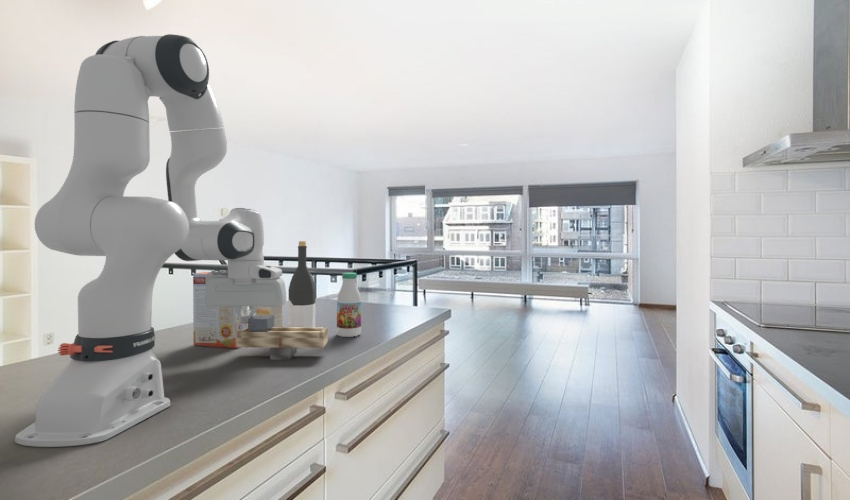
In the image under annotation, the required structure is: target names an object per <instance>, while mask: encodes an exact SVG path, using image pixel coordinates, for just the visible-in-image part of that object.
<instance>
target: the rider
mask: <svg viewBox="0 0 850 500" xmlns="http://www.w3.org/2000/svg"><path fill="white" fill-rule="evenodd" d="M272 327H274V315H255V314H254V315H253V317H251V318H249V319H248V331H271V328H272Z"/></svg>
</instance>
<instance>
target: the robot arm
mask: <svg viewBox="0 0 850 500" xmlns="http://www.w3.org/2000/svg"><path fill="white" fill-rule="evenodd" d="M209 67H210V66H209V63H208V58H207V57H206V54H205V53H204V51H203V50H202V48H201V47H200V46H199V45H198V44H197V43H196V41H195V40H193V39H192V38H190V37H189V36H184V35H180V34H172V33H171V34H170V33H168V34H165V35H149V36H148V35H147V36H145V35H139V36H133V37H128V38H125V39H122V40H112V41H110V42H107V43H105V44H103V45H102V46H100V47H99V48H98V49H97V51H96V52H95V54H94V55H90V56H88V57H86V58H85V59H84V60H83V61H82V62H81V63H80V67H79V69H78V70H79V71H78V75H77V79H76V85H75V86H76V87H75V93H74V112H73V114H74V115H73V116H74V131H73V133H74V140H73V156H72V162H71V166H70V169H69V171H68V174H67V177H66V178H65V180H64V182H63V184H62V186H60V189H59V190H58V191H57V193H56V194H55V195H54V196H53V197H52V198H50V199H49V200H47V202H45V203H44V204H43V205H41V207H40V208H39V209H38V211H37V213H36V216H35V218H34V231H35V234H36V236H37V238H38V240H39V241H40V242H41V244H42V245H43V246H44V247H46V248H48V249H50V250H53V251H56V252H60V253H63V254H67V255H68V254H69V255H73V256H78V257H79V256H80V257H83V256H84V257H92V256H93V257H105V262H104V265H103V268H102V271H101V272H100V274H99V276H97V278H95V279H92V280H91V281H89V282H87V283H86V284H85V285H83V286H82V287H81V289H80V290H79V292H78V294H77V328H78V329H77V333H78V334H76V336H75V337H74V340H73V341H74V342H72V343H68V342H67V343H66V342H63V343H60V344H59V346H58V347H57V348H58V350H57V352H58V353H57V354H59V356H69V358H70V360H69V362H68V363H67V365H66V366H65V367H64V368H63V370H61V372H60V373H59V374H58V375H57V376H56V377H55V379H54V380H53V381H52V382H51V383H50V385H49V386H48V387H47V388H46V390H44V392H43V393H41V395H40V396H39V398H38V400H37V404H36V412H35V421H34V422H32V423H31V424H30V425H28V426H26V427H25V428H24V429H22V430H21V431H19V432H18V433H17V434H16V435H15V438H14V442H15V443H16V444H18V445H21V446H28V447H37V448H38V447H39V448H43V447H44V448H49V447H50V448H52V447H53V448H55V447H73V446H82V445H89V444H90V445H91V444H96V443H101V442H103V441H107V440H109V439H110V438H113V437H115V436H116V435H118V434H120V433H122V432H124V431H126V430H128V429H129V428H131V427H133V426H134V425H135V426H136V425H137V424H138V423H140V422H143V421H144V420H146V419H147V418H150V417H152V416H154V415H156V414H157V413H159V412H161V411H163V410H165V409H167V408H169V407H170V406H171V400H170V398H169V397H165V390H164V382H163V381H164V380H163V373H162V364H161V362H160V360H159V359H158V358H157V356H156V355H155V352H154V347H155V344H156V343H155V339H156V334H155V329H154V327H152V316H153V315H152V310H153V309H152V308H153V292H154V287H155V282H156V280H157V277H158V275H159V274H160V272H161V269H162V267H163V266H164V265H165V263H166V261H168V260H169V258H170V257H172V256H173V255H175V256H176V257H177V258H179V260H182V261H183V262H184V261H185V262H196V261H197V262H198V261H227V270H211V271H208V272H209V273H208V274H207V275H206V285H207V286H206V292H205V303H206V304H207V306H235V311H236V313H237V314H238V316H239V317H240V323H248V319H249V318H251V317H253V316H255V312H256V310H257V306H268V307H280V306H282V307H283V306H284V305H285V304H286V302H287V290H286V284H285V281H284V280H283V278H282V276H283V270H282V269H281V268H279V267H275V266H272V265H269V264H266V263H265V258H264V254H263V247H264V243H265V233H264V231H265V230H264V223H263V218H262V215H261V213H260V212H259V211H257V210H254V209H251V208H244V207H235V208H232V209H231V210H230V212H229V213H228V215H226V216H224V217H223V218H220V219H219V220H201V219H200V217H199V216H198V211H197V209H198V208H197V200H196V199H197V198H196V189H195V188H196V184H197V180H198V179H199V178H200V177H201V176H202V175H204V174H206V173H207V172H209V171H211V170H213V169H214V168H216V167H217V166H218V165H219V164H221V162H222V161H223V160H224V158H225V156H226V154H227V151H228V143H227V141H228V140H227V136H226V135H227V134H226V131H225V128H224V127H225V126H224V122H223V118H222V114H221V111H220V108H219V104H218V102H217V99H216V96H215V94H214V92H213V89H212V87H211V86H210V84H209V80H210V68H209ZM150 97H156V98H159V100H160V101H161V102H162V104H163V105H164V107H165V114H166V119H167V121H166V122H167V125H168V130H169V136H170V142H171V151H170V156H169V158H167V161H166V166H165V180H166V190H167V199H168V200H165V199H163V198H161V199H160V198H156V197H152V196H151V197H150V196H124V194H125V191H126V187H127V186H128V184H129V183H130V181H132V179H133V178H134V177H136V176H138V175H139V174H141V173H143V172H144V171H145V170H146V169H147V168H148V166H149V164H150V159H151V158H150V157H151V156H150V154H151V153H150V152H151V151H150V149H151V147H150V113H149V103H148V102H149V99H150ZM209 274H212V275H209ZM243 306H247V307H248V310H249V311H250V312H249V315H247V316H245V315H244V314H243V312H242V309H243Z"/></svg>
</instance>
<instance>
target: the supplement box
mask: <svg viewBox="0 0 850 500" xmlns="http://www.w3.org/2000/svg"><path fill="white" fill-rule="evenodd" d="M255 315H274V327H283V305H282V306H280V307H268V306H257V310H256V312H255V314H254V316H255Z"/></svg>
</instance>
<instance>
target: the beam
mask: <svg viewBox="0 0 850 500" xmlns="http://www.w3.org/2000/svg"><path fill="white" fill-rule="evenodd" d="M328 329H329V328H328V327H327V326H324V327H316V326H315V327H287V326H285V327H283V326H282V327H272V328H271V331H248V327H245V328H243V329H241V330H240V331H238V332H237V348H268V349H269V360H272V361H273V360H275V361H277V360H281V361H282V360H284V361H285V360H291V359H292V358H293V357H294V355H296V353H297V352H298V351H297V349H298V348H299V349H300V348H302V349H303V348H304V349H305V348H306V349H307V348H309V349H312V348H314V349H315V348H321V349H324V347H325V346H326V345H327V343H328V341H329V338H328V334H329V330H328Z"/></svg>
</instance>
